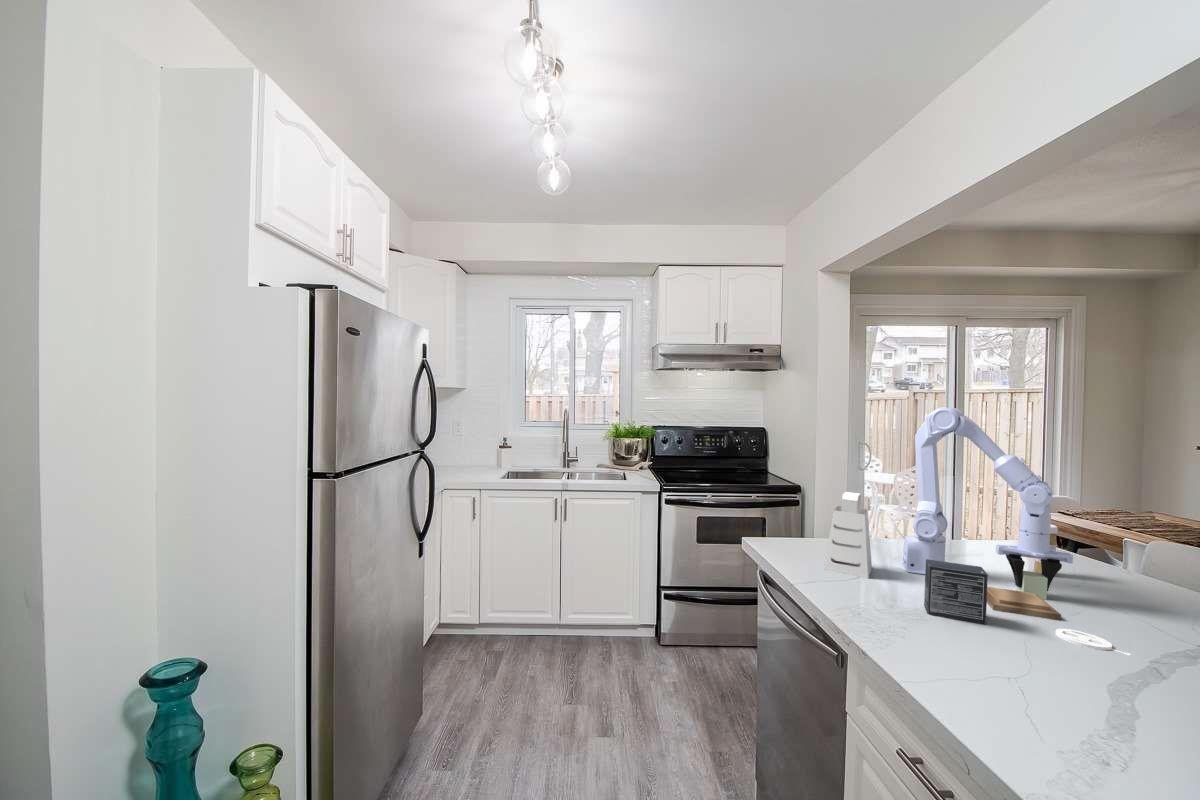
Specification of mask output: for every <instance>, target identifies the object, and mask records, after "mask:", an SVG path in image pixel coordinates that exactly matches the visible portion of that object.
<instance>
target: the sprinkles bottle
mask: <svg viewBox="0 0 1200 800" xmlns="http://www.w3.org/2000/svg"><path fill="white" fill-rule="evenodd" d="M1058 531H1059V529H1058V526H1056V524H1055V525H1054V524H1051V525H1050V542H1049V550H1051V551H1057V535H1058ZM1033 559H1034V566H1033V567H1034V569H1033V572H1038V573H1041V574H1042V567H1041V559H1037V558H1033Z"/></svg>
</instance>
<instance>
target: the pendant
mask: <svg viewBox="0 0 1200 800" xmlns="http://www.w3.org/2000/svg"><path fill="white" fill-rule="evenodd" d="M1055 635H1056V636H1057V637H1058V638H1059V639H1062V640H1064V641H1066V642H1069V643H1071V644H1074V645H1077V646H1080V647H1083V648H1089V649H1092V650H1098V651H1111V650H1112V651H1115V652H1117V653H1121V654H1124V655H1127V656H1129V657H1130V656H1132V654H1131V653H1129V652H1125V651H1120V650H1118V649H1114V648H1113V645H1112V643H1111V642H1110V641H1108V640H1107V639H1104V638H1102V637H1100V636H1097V635H1094V634H1092V633H1091V634H1090V633H1087V632H1083V631H1080V630H1075V629H1069V628H1057V629H1055Z"/></svg>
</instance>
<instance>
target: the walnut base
mask: <svg viewBox="0 0 1200 800" xmlns="http://www.w3.org/2000/svg"><path fill="white" fill-rule="evenodd" d="M987 606H989V607H990V608H991V609H992V610H993V611H999V612H1005V613H1011V614H1017V615H1018V614H1019V615H1024V616H1031V617H1037V618H1043V619H1050V620H1057V621H1061V620H1062V614H1061V613H1060V612H1059V611H1058V610H1056V609H1055V608H1054V607H1053V606H1051V605H1050V604H1049V603H1048V602H1047V601H1045V599H1042V598H1041V597H1039V596H1038V595H1035V594H1033V593H1029V592H1022V591H1017V590H1016V589H1015V590H1013V589H1007V588H1000V587H999V588H998V587H992V586H987Z"/></svg>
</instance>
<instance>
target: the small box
mask: <svg viewBox="0 0 1200 800" xmlns="http://www.w3.org/2000/svg"><path fill="white" fill-rule="evenodd" d="M924 577H925V578H924V598H923V599H924V601H923V606H924V609H925V612H926V614H927V615H930V616H935V617H942V618H946V619H953V620H957V621H958V620H959V621H965V622H970V623H976V624H980V625H981V624H982V625H987V624H988V620H987V606H988V604H987V587H988V577H989V575H988V573H987V571H986V570H985V569H984V568H983V567H982V566H979V565H972V564H965V563H964V564H963V563H955V562H949V561H945V562H943V561H936V560H928V559H926V571H925V574H924Z"/></svg>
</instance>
